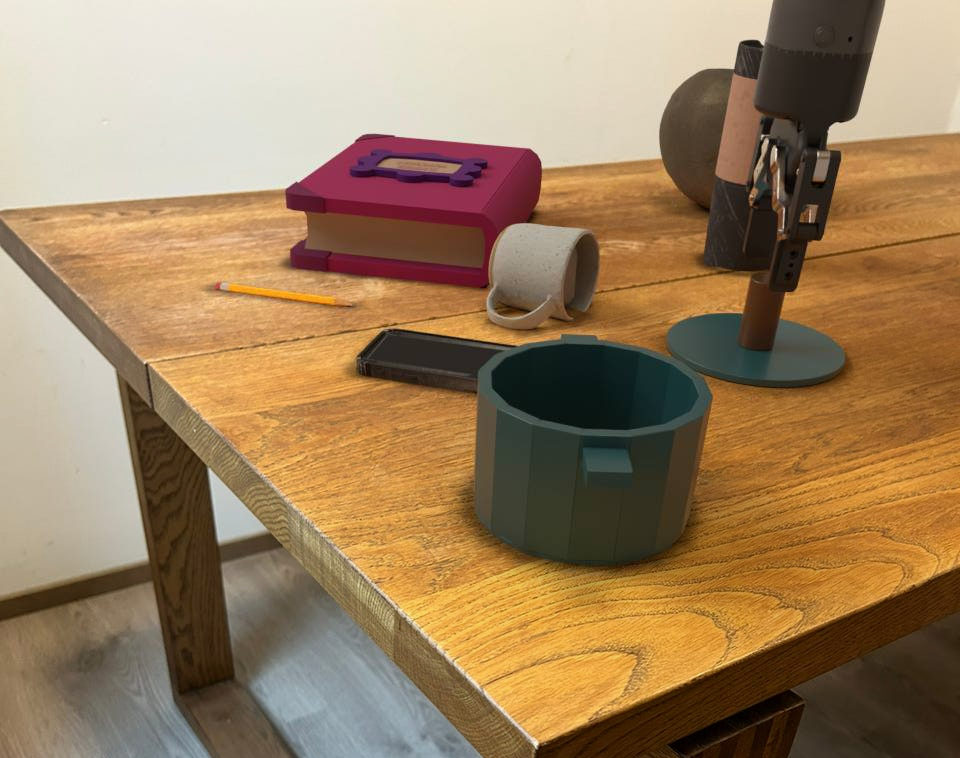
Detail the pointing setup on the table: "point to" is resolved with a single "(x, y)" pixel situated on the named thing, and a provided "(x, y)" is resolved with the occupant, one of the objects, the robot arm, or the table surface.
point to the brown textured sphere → (695, 132)
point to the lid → (756, 344)
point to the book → (413, 208)
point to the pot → (588, 449)
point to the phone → (427, 359)
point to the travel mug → (736, 170)
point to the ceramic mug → (542, 273)
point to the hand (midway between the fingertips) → (767, 272)
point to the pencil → (281, 294)
